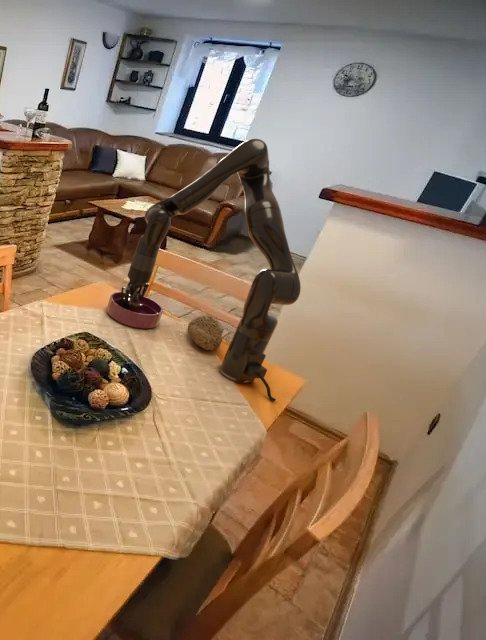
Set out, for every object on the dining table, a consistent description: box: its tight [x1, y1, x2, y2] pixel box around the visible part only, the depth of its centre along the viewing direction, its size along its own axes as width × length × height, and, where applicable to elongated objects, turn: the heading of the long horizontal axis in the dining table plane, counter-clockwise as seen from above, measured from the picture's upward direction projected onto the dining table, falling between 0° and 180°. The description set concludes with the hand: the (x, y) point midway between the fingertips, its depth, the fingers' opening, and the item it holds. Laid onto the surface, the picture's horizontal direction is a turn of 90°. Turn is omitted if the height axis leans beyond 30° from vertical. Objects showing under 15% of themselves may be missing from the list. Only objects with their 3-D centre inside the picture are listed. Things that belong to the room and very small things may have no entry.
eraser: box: [118, 298, 142, 313], centre depth 174 cm, size 7×4×4 cm, turn 44°
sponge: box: [186, 314, 225, 351], centre depth 166 cm, size 13×8×20 cm
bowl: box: [106, 291, 164, 329], centre depth 173 cm, size 18×18×6 cm
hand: (127, 311), depth 175 cm, fingers closed on eraser, 4 cm apart
